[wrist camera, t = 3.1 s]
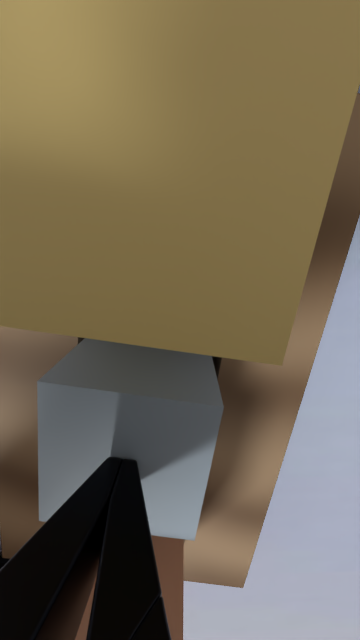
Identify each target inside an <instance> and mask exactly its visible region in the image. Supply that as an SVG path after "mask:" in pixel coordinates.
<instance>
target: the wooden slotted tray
mask: <svg viewBox="0 0 360 640" xmlns="http://www.w3.org/2000/svg"><path fill="white" fill-rule="evenodd" d="M359 215H360V94H359V93H357V96H356V99H355V103H354V107H353V110H352V114H351V117H350V121H349V125H348V128H347V132H346V136H345V139H344V143H343V146H342V150H341V154H340V157H339V161H338V165H337V168H336V172H335V175H334V179H333V183H332V186H331V190H330V193H329V197H328V201H327V204H326V208H325V212H324V215H323V219H322V222H321V226H320V230H319V233H318V237H317V240H316V244H315V248H314V251H313V255H312V259H311V262H310V266H309V269H308V273H307V277H306V280H305V284H304V287H303V291H302V295H301V298H300V302H299V306H298V309H297V313H296V316H295V320H294V324H293V327H292V331H291V335H290V338H289V342H288V345H287V349H286V353H285V356H284V360H283V363H282V366H279V365H272V364H265V363H258V362H251V361H244V360H237V359H230V358H223V357H216V356H212V359H213V364H214V368H215V372H216V376H217V380H218V385H219V389H220V393H221V397H222V401H223V406H224V409H223V413H222V418H221V422H220V427H219V431H218V436H217V441H216V445H215V450H214V454H213V459H212V463H211V468H210V473H209V477H208V482H207V486H206V491H205V495H204V500H203V505H202V509H201V514H200V518H199V523H198V527H197V532H196V537H195V541H193V540H185V539H184V566H183V581H191V582H199V583H208V584H216V585H224V586H232V587H240V588H243V586H244V583H245V580H246V577H247V574H248V570H249V567H250V564H251V561H252V558H253V554H254V551H255V548H256V545H257V542H258V538H259V535H260V532H261V529H262V526H263V522H264V519H265V516H266V513H267V510H268V506H269V503H270V500H271V497H272V494H273V490H274V487H275V484H276V481H277V478H278V474H279V471H280V468H281V465H282V462H283V458H284V455H285V452H286V449H287V446H288V442H289V439H290V436H291V433H292V430H293V426H294V423H295V420H296V417H297V414H298V410H299V407H300V404H301V401H302V398H303V394H304V391H305V388H306V385H307V382H308V378H309V375H310V372H311V369H312V366H313V362H314V359H315V356H316V353H317V350H318V346H319V343H320V340H321V337H322V334H323V330H324V327H325V324H326V321H327V318H328V314H329V311H330V308H331V305H332V302H333V298H334V295H335V292H336V289H337V286H338V282H339V279H340V276H341V273H342V270H343V266H344V263H345V260H346V257H347V254H348V250H349V247H350V244H351V241H352V238H353V234H354V231H355V228H356V225H357V222H358V218H359ZM83 339H85V338H81V337H74V336H66V335H59V334H52V333H45V332H38V331H31V330H24V329H17V328H10V327H3V326H0V533H1V547H2V558H7V559H11V558H12V557H13V556H14V555H15V554H16V553H17V552H18V551H19V550H20V548H21V547H22V546H23V545H24V544H25V543H26V542H27V541H28V540H29V539H30V538H31V537H32V536H33V535H34V534H35V533H36V532H37V531H38V530H39V529H40V528H41V527H42V526H43V524H44V523H45V522H44V521H39V487H38V405H37V381H38V380H39V379H40V378H42V377H43V376H44V375H45V374H46V373H47V372H48V371H49V370H50V369H51V368H53V367H54V366H55V365H56V364H57V363H58V362H59V361H60V360H61V359H63V358H64V357H65V356H66V355H67V354H68V353H69V352H70V351H71V350H72V349H74V348H75V347H76V346H77V345H78V344H79V343H80V342H81V341H82V340H83Z"/></svg>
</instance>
